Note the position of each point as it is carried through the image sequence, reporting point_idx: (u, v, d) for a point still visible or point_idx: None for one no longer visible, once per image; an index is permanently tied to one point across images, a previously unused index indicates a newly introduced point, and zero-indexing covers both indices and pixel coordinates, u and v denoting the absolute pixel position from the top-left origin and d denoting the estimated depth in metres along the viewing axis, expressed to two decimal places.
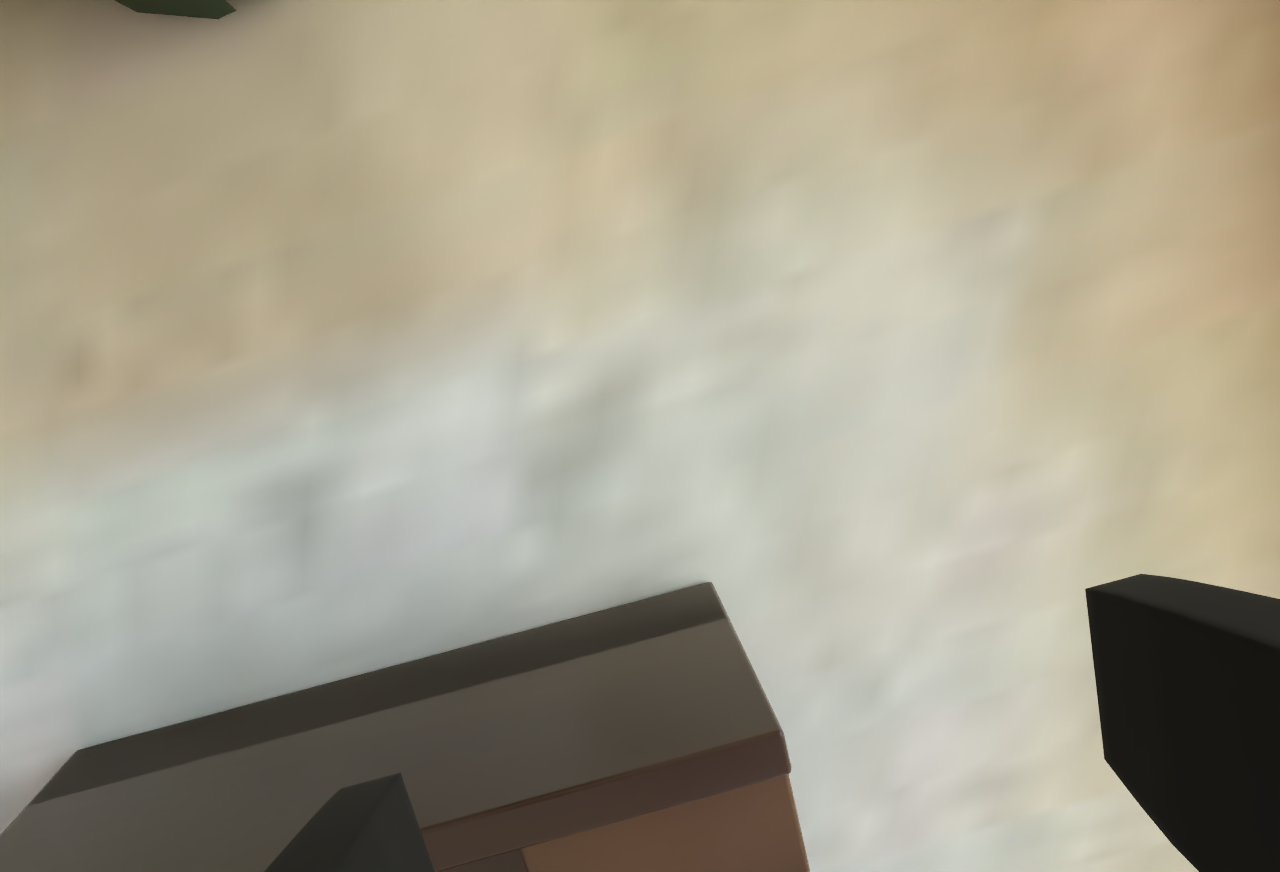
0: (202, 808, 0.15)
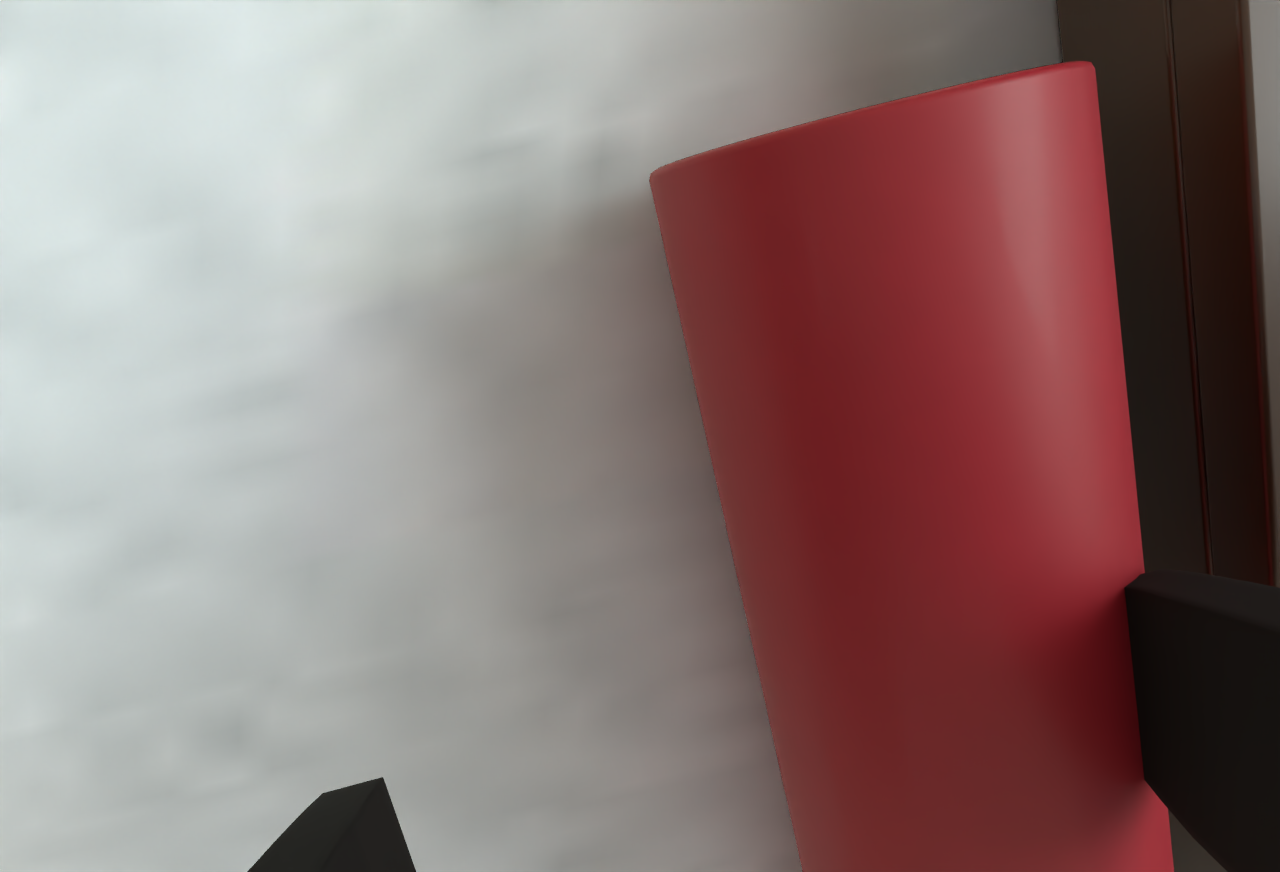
0: None
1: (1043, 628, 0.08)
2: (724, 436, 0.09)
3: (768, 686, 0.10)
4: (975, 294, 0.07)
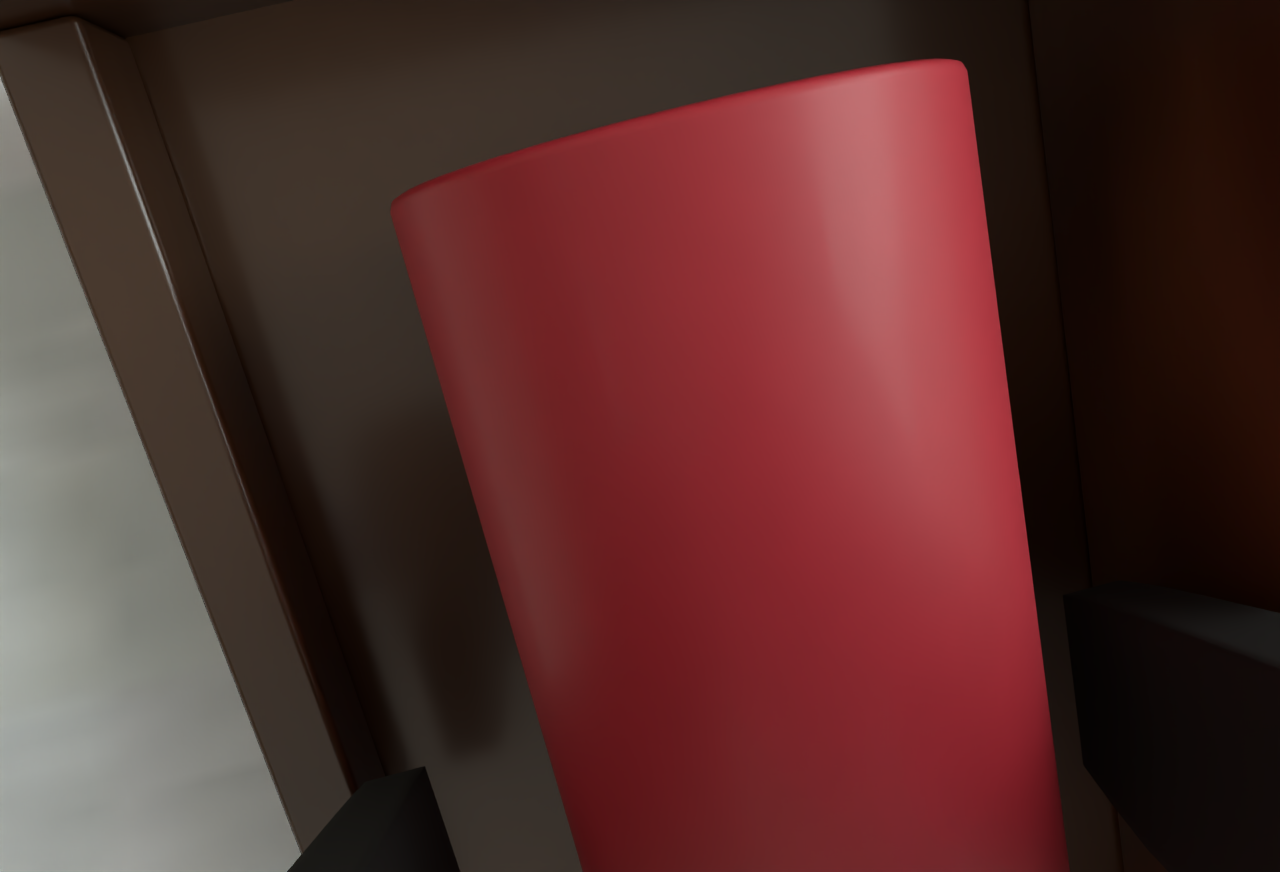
0: None
1: (839, 851, 0.06)
2: (487, 540, 0.07)
3: None
4: (713, 406, 0.05)
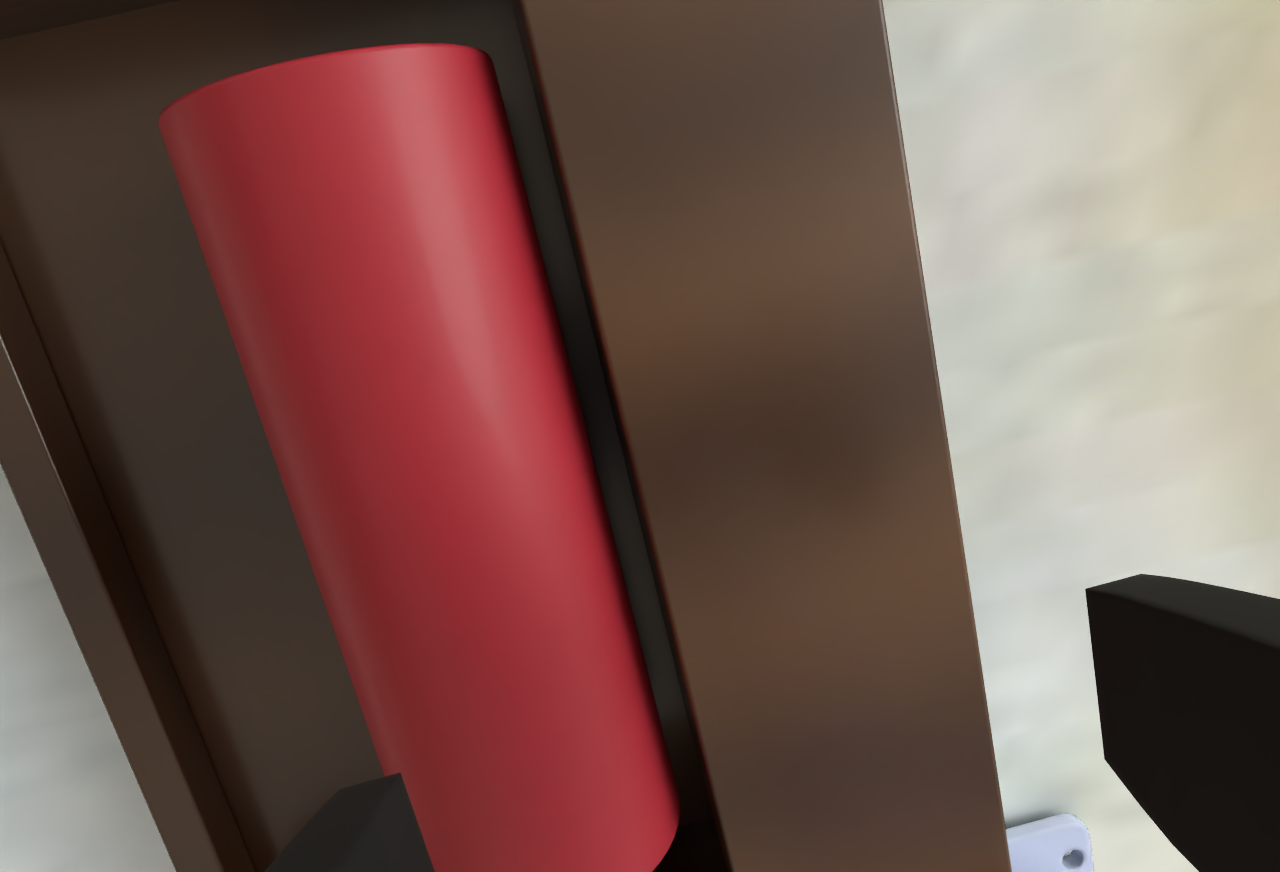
0: None
1: (513, 436, 0.11)
2: (251, 327, 0.11)
3: (317, 552, 0.12)
4: (429, 190, 0.10)
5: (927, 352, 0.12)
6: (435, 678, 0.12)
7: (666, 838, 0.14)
